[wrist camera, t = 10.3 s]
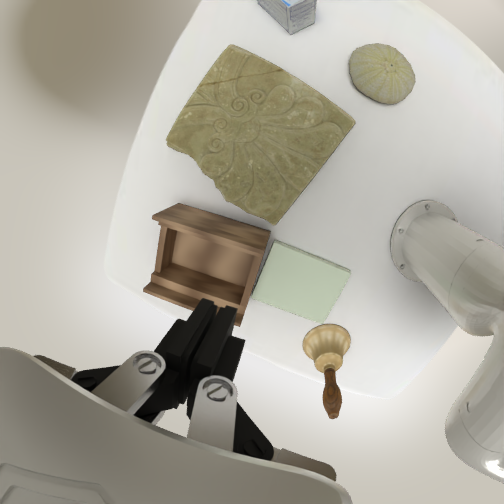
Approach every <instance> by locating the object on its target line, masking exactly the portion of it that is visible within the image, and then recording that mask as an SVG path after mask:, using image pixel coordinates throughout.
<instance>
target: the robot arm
mask: <svg viewBox="0 0 504 504" xmlns="http://www.w3.org/2000/svg"><path fill="white" fill-rule="evenodd" d="M425 205H426V207H425ZM399 229H400V230H399ZM398 230H399V231H398ZM391 254H392V258H393V261H394V263H395V266H396V267H397V269H398V270H399V271H400V272H401V273H402V274H403V275H404V276H405V277H406V278H408V279H410V280H413V281H416V282H423V283H424V284H425V285H426V286H427V288H428V289H429V290H430V291H431V292H432V293H433V295H434V296H435V297H436V298H437V299H438V301H439V302H440V303H441V304H442V306H443V307H444V308H445V309H446V311H447V312H448V313H449V314H450V315H451V317H452V318H453V319H454V320H455V322H456V323H457V324H458V325H459V327H461V329H463V330H464V331H465V332H467V333H469V334H471V335H475V336H490V335H494V338H493V342H492V344H491V346H490V348H489V350H488V352H487V353H486V355H485V357H484V360H483V361H482V363H481V365H480V366H479V368H478V369H477V371H476V373H475V374H474V376H473V377H472V378H471V380H470V381H469V383H468V384H467V386H466V387H465V389H464V390H463V391H462V393H461V394H460V395H459V397H458V398H457V400H456V401H455V403H454V404H453V406H452V408H451V409H450V412H449V413H448V416H447V419H446V424H445V434H446V438H447V442H448V444H449V446H450V448H451V449H452V451H453V452H454V453H455V455H456V456H457V457H458V458H459V459H460V460H462V461H463V462H464V463H465V464H467V465H468V466H470V467H472V468H474V469H476V470H477V471H479V472H481V473H483V474H485V475H487V476H489V477H491V478H493V479H495V480H497V481H499V482H502V483H503V484H504V248H502V247H501V246H499V245H497V244H496V243H494V242H492V241H491V240H489V239H487V238H485V237H483V236H482V235H480V234H478V233H476V232H474V231H473V230H471V229H469V228H467V227H465V226H463V225H461V224H459V223H458V221H457V219H456V217H455V215H454V213H453V212H452V211H451V210H450V209H449V208H448V207H447V206H445V205H444V204H442V203H439V202H436V201H431V200H425V201H421V202H418V203H416V204H414V205H412V206H411V207H409V208H408V209H407V210H406V211H405V212H404V213H403V214H402V215H401V216H400V218H399V219H398V221H397V223H396V225H395V227H394V229H393V233H392V237H391ZM401 264H402V265H401ZM217 308H218V306H217V305H214V301H212V300H208V299H205V298H202V299H201V301H200V302H199V304H198V305H197V306H196V308H195V309H194V311H193V312H192V314H191V315H190V317H189V318H188V320H187V321H184V320H181V319H177V320H176V322H175V323H174V324H173V326H172V327H171V328H170V330H169V331H168V332H167V334H166V335H165V337H164V338H163V339H162V341H161V342H160V343H159V345H158V346H157V348H156V349H155V350H154V352H153V351H139V352H137V353H135V354H133V355H132V356H131V357H130V358H129V359H127V360H126V361H125V362H124V363H123V364H122V365H120V366H113V367H106V368H98V369H90V370H83V371H79V372H77V371H76V369H75V368H72V367H70V366H67V365H64V364H61V363H59V362H57V361H54V360H52V359H49V358H47V357H45V356H41V355H35V356H31V355H30V354H27V353H25V352H23V351H20V350H17V349H13V348H9V347H0V504H352V500H351V497H350V495H349V494H348V492H347V491H346V489H345V488H343V487H342V486H341V485H339V484H338V483H336V482H335V481H336V472H335V470H334V469H333V467H332V466H330V465H328V464H326V463H324V462H320V461H317V460H314V459H311V458H308V457H305V456H302V455H299V454H296V453H294V452H291V451H288V450H286V449H281V450H280V449H277V448H275V447H273V446H272V444H271V443H270V442H269V440H268V439H267V438H266V437H265V436H264V435H263V433H262V432H261V431H260V430H259V428H258V427H257V426H256V425H255V424H254V422H253V421H252V420H251V419H250V417H249V416H248V415H247V414H246V412H245V411H244V410H243V409H242V407H241V406H240V405H239V403H238V402H237V394H238V393H237V388H236V386H235V384H234V383H233V379H234V376H235V373H236V370H237V367H238V364H239V360H240V357H241V354H242V350H243V347H244V343H245V340H244V339H240V338H237V337H234V336H231V335H232V331H233V327H234V323H235V319H236V315H237V310H238V308H235V307H231V306H228V305H226V306H225V308H224V307H220V309H219V311H218V313H217ZM216 313H217V315H216ZM187 397H188V398H187ZM186 399H187V416H188V417H189V419H190V426H189V430H188V434H187V438H186V437H183V436H181V435H178V434H175V433H173V432H170V431H167V430H165V429H163V428H160V427H158V426H155V425H156V424H157V422H158V421H159V420H160V419H161V418H162V416H163V415H164V413H165V410H168V409H172V408H175V409H177V407H178V406H179V404H184V403H185V401H186Z"/></svg>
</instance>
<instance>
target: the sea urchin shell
mask: <svg viewBox="0 0 504 504" xmlns="http://www.w3.org/2000/svg"><path fill="white" fill-rule="evenodd" d="M349 66H350V75H351V77H352V80H353V83H354V85H355V86H356V87H357V89H358V90H360V91H361V92H362V93H364V94H365V95H366V96H368V97H370V98H372V99H374V100H376V101H377V102H380V103H381V102H382V103H385V104H395V103H398V102H400V101H401V100H403V99H405V98H406V96H407V95H408V94H409V93H410V92H411V91H412V89H413V86H414V84H415V74H414V72H413V70H412V67H411V64H410V63H409V62H408V61H407V60H406V58H405V57H404V55H402V54H401V53H400V52H399V51H398V50H397V49H396V48H393V47H391V46H389V45H384V44H379V43H377V44H376V43H375V44H368V45H364V46H362V47H359V48H356V50H355V51H353V53H352V55H351V57H350V61H349Z"/></svg>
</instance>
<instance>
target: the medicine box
mask: <svg viewBox="0 0 504 504" xmlns="http://www.w3.org/2000/svg"><path fill="white" fill-rule="evenodd" d="M316 1H317V0H257V2H258V4H259V5H260V6H261V7H263V8H264V9H265V10H266V11H267V12H268V13H269V14H270V15H271V16H272V17H273V18H274V19H275V20H277V21H278V22H279V23H280V24H281V25H282V26H283V27H284V28H285V29H286V30H287V31H288V32H289V33H290V35H291V34H293V33H295V32H297V31H299V30H301V29H303V28H305V27H307V26H309V25H311V24H313V23H314V21H315V11H316Z"/></svg>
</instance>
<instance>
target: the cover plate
mask: <svg viewBox="0 0 504 504" xmlns="http://www.w3.org/2000/svg"><path fill="white" fill-rule="evenodd" d="M350 275H351V272H350V270H348V269H346V268H343V267H341V266H338V265H336V264H334V263H331V262H329V261H326V260H324V259H321V258H319V257H316V256H314V255H311V254H309V253H306V252H304V251H302V250H299V249H297V248H294V247H292V246H289V245H287V244H284V243H282V242H279V241H276V240H274V243H273V245H272V247H271V250H270V252H269V255H268V257H267V260H266V262H265V264H264V267H263V269H262V272H261V274H260V276H259V279H258V281H257V284H256V286H255V288H254V291H253V293H252V296H251V298H253V299H255V300H258V301H261V302H263V303H266V304H268V305H271V306H274V307H276V308H279V309H282V310H284V311H287V312H290V313H293V314H295V315H298V316H301V317H304V318H306V319H309V320H312V321H315V322H318V323H320V324H323V323H324V321H325V319H326V318H327V316H328V314H329V313H330V311H331V309H332V308H333V306H334V304H335V302H336V301H337V299H338V297H339V295H340V293H341V292H342V290H343V288H344V286H345V284H346V282H347V281H348V279H349V277H350Z"/></svg>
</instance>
